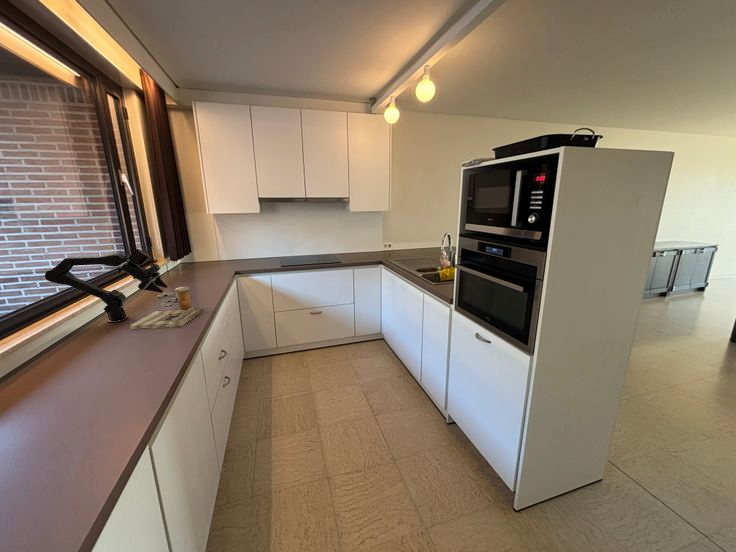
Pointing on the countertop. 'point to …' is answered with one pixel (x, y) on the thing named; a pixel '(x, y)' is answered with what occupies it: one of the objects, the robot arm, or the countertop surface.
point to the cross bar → (182, 315)
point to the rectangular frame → (157, 319)
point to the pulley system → (168, 297)
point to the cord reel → (184, 298)
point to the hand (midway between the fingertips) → (164, 289)
